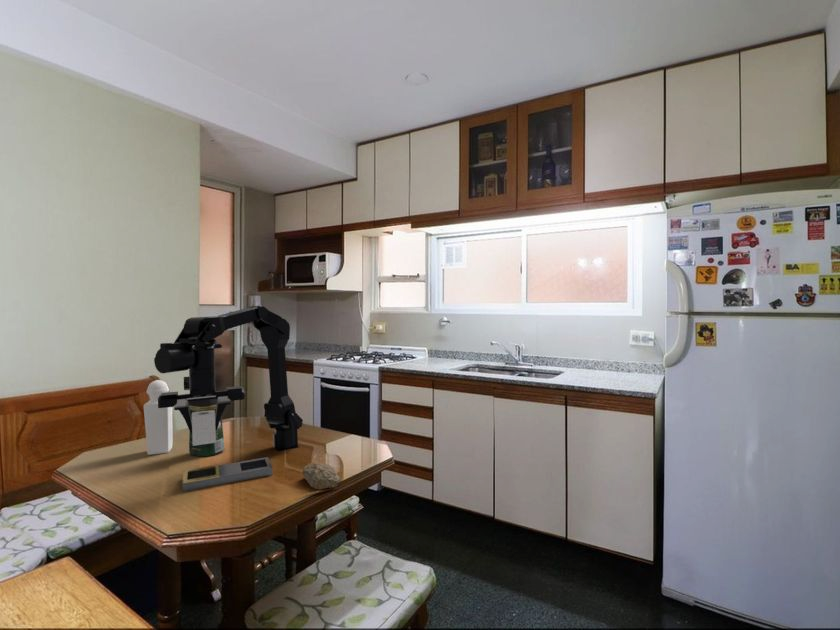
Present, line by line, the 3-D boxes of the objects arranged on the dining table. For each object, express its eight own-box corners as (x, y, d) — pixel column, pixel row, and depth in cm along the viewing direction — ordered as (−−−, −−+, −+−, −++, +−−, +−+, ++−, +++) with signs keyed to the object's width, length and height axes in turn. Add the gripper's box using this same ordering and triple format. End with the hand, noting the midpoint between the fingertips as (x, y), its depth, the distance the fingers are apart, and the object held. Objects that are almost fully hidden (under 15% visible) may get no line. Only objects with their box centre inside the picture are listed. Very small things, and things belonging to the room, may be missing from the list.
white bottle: (174, 446, 139) (171, 377, 138) (169, 453, 132) (166, 380, 132) (151, 449, 136) (148, 379, 136) (145, 456, 130) (142, 382, 130)
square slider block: (215, 437, 110) (214, 410, 110) (215, 442, 106) (214, 413, 106) (193, 440, 108) (192, 412, 108) (192, 445, 104) (191, 416, 104)
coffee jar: (184, 455, 129) (181, 393, 129) (206, 447, 137) (204, 388, 136) (207, 459, 125) (204, 395, 125) (229, 450, 133) (227, 389, 132)
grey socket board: (268, 465, 118) (267, 456, 118) (272, 476, 110) (272, 466, 110) (184, 480, 110) (184, 470, 109) (182, 493, 101) (182, 482, 101)
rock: (315, 495, 99) (314, 476, 98) (298, 480, 108) (297, 462, 108) (346, 486, 103) (345, 468, 103) (327, 472, 112) (326, 456, 112)
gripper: (240, 362, 119) (242, 419, 119) (160, 367, 110) (162, 429, 110) (243, 366, 109) (245, 428, 109) (156, 372, 100) (158, 440, 100)
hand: (203, 431), depth 107 cm, fingers closed on square slider block, 5 cm apart
